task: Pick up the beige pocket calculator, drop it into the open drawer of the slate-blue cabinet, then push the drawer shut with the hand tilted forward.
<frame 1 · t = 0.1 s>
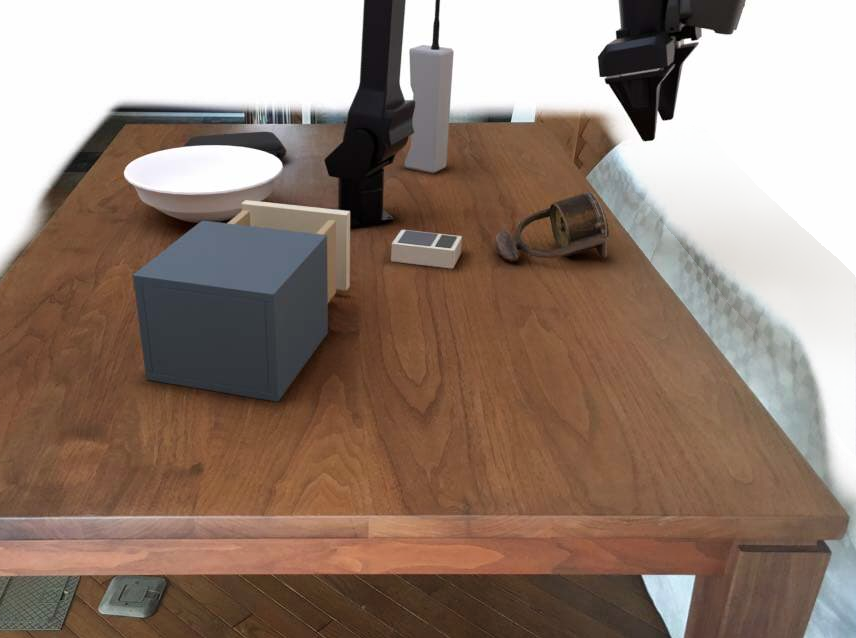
hand: (658, 129, 93), 15 cm above the table, tool pointing down, fingers open, 9 cm apart
drawer: (283, 258, 91), point 5 cm above the table, slide at 8.0 cm
bowl: (208, 217, 116), on the table
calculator: (426, 257, 104), on the table
vintage mobile phone: (425, 169, 133), on the table
cabinet: (241, 355, 84), on the table
brass cylinder with loop: (549, 254, 105), on the table
carrying case: (236, 161, 137), on the table
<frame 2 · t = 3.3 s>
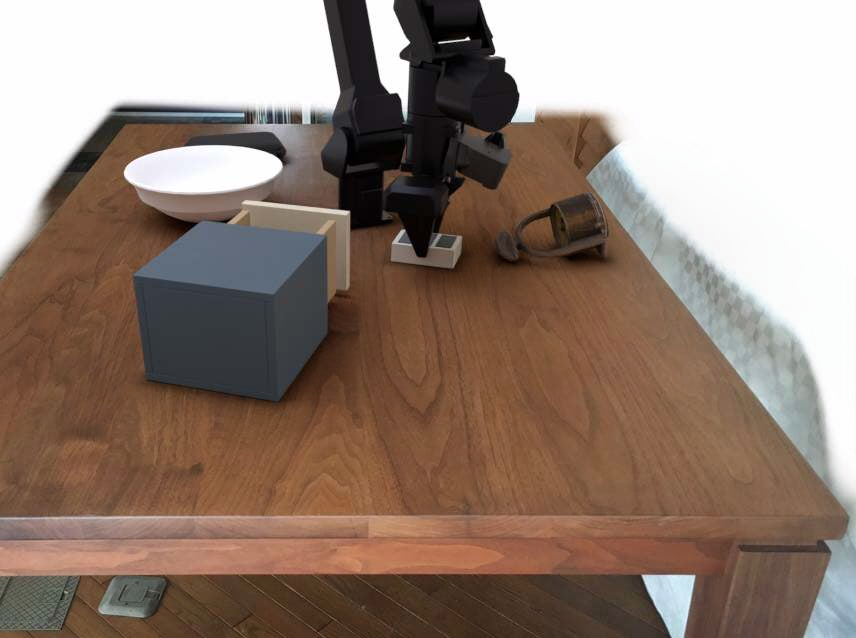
hand: (426, 249, 103), 1 cm above the table, tool pointing down, fingers closed on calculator, 4 cm apart
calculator: (426, 257, 104), on the table, touching gripper
everything else where it was.
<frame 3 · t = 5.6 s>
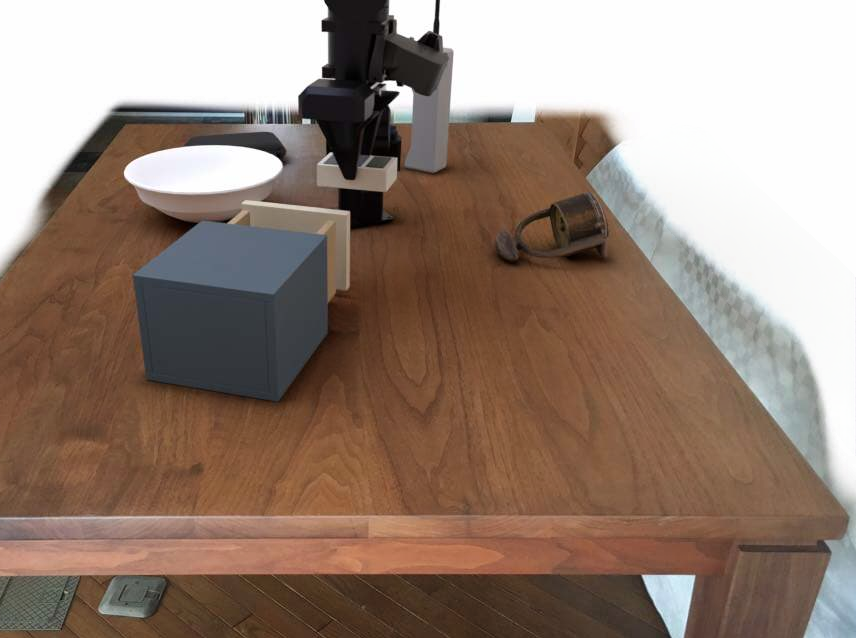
hand: (356, 172, 91), 12 cm above the table, tool pointing down, fingers closed on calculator, 4 cm apart
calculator: (357, 182, 92), point 11 cm above the table, touching gripper
everything else where it was.
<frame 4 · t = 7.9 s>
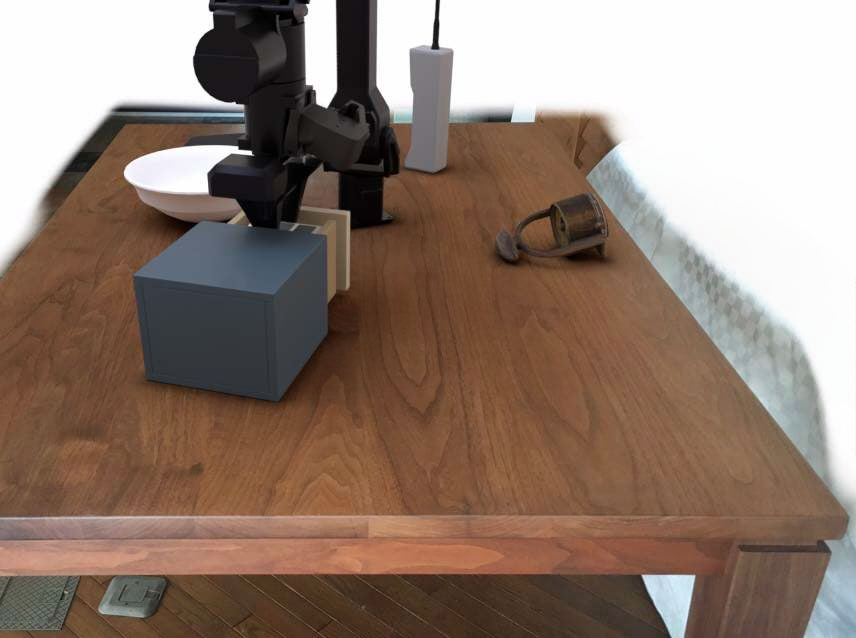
hand: (280, 241, 89), 7 cm above the table, tool pointing down, fingers closed on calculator, 4 cm apart
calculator: (281, 251, 90), point 6 cm above the table, touching gripper
everything else where it was.
when the fingers open (7 cm above the table, at t = 8.2 s): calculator drops 4 cm, resting on drawer.
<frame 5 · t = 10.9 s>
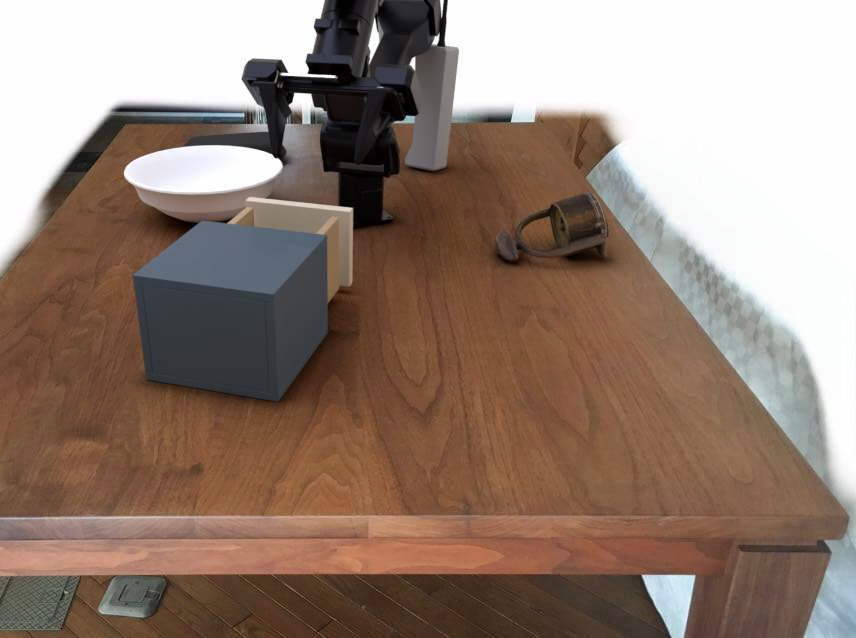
hand: (315, 159, 95), 12 cm above the table, tool tilted 45°, fingers open, 9 cm apart
drawer: (287, 254, 92), point 5 cm above the table, slide at 9.0 cm, touching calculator
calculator: (286, 285, 93), point 2 cm above the table, touching drawer
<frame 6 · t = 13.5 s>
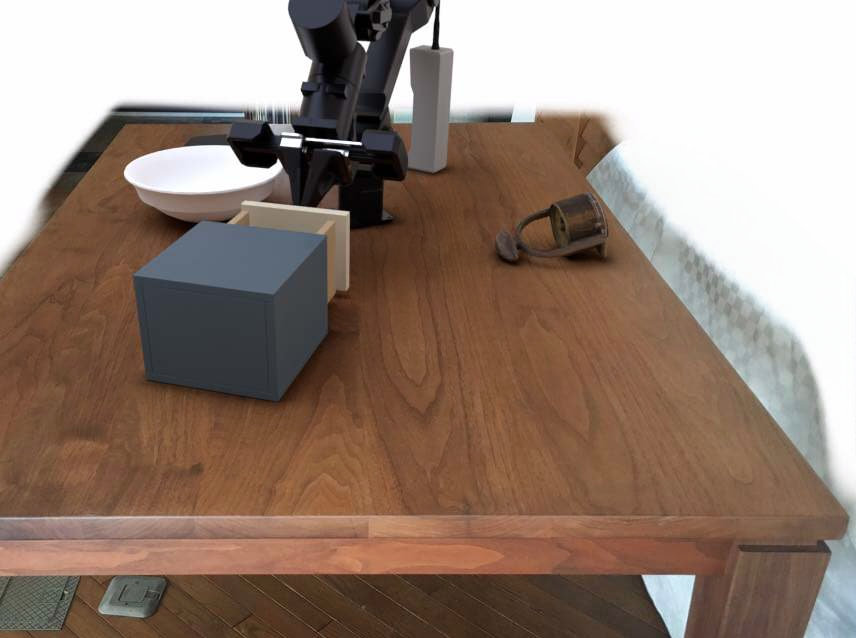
hand: (299, 223, 93), 7 cm above the table, tool tilted 45°, fingers closed, pressing on drawer
drawer: (283, 259, 91), point 5 cm above the table, slide at 7.8 cm, touching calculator, gripper
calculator: (282, 290, 92), point 2 cm above the table, touching drawer
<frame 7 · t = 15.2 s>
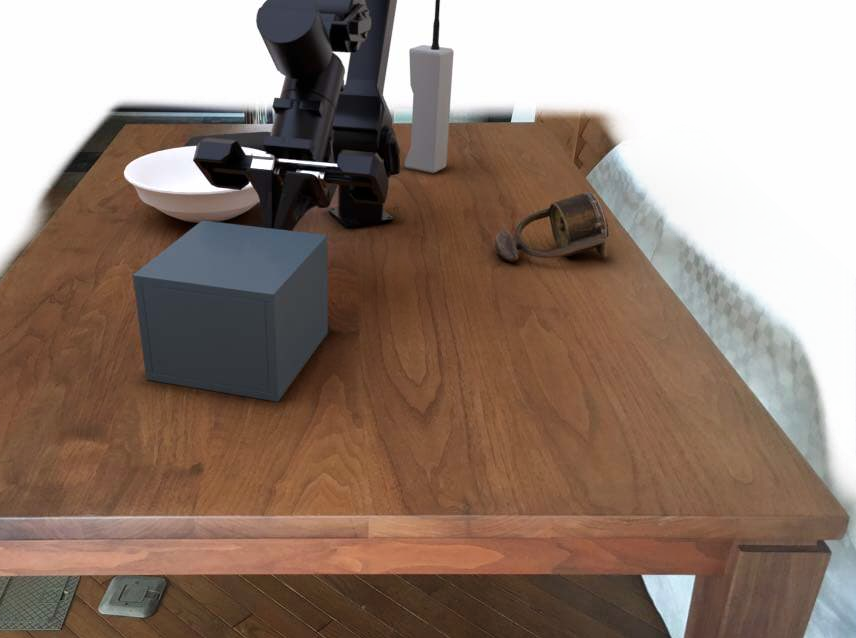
hand: (271, 250, 87), 7 cm above the table, tool tilted 45°, fingers closed, pressing on drawer
drawer: (253, 290, 84), point 5 cm above the table, slide at 0.0 cm, touching cabinet, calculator, gripper
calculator: (252, 323, 85), point 2 cm above the table, touching drawer
everything else where it was.
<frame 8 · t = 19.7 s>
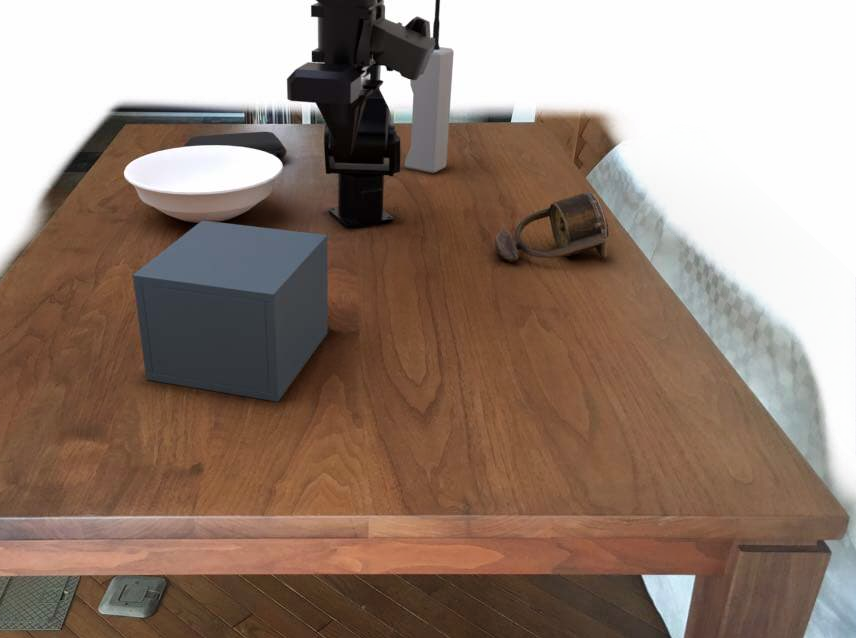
hand: (346, 154, 94), 13 cm above the table, tool pointing down, fingers closed
drawer: (253, 290, 84), point 5 cm above the table, slide at 0.0 cm, touching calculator
everything else where it was.
at the end: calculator inside the target area in the cabinet (2.9 cm from its centre), point 2.0 cm above the cabinet's base; drawer slide at 0.0 cm; the gripper is holding nothing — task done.
